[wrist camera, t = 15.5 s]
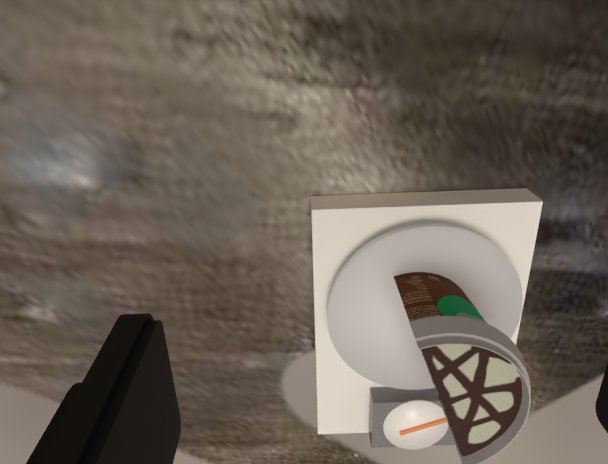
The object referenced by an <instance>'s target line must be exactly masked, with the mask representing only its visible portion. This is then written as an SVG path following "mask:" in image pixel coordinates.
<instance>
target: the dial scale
mask: <svg viewBox="0 0 608 464" xmlns="http://www.w3.org/2000/svg"><path fill="white" fill-rule="evenodd" d="M542 204H543V201H542V200H540V199H539V198H538V197H537V196H536V195H534V194H533V193H532V192H531V191H529V190H528V189H527V188H518V189H490V190H462V191H435V192H407V193H379V194H352V195H324V196H311V226H312V261H313V296H314V331H315V364H316V399H317V424H318V434H338V433H366V432H369V435H370V442H371V447H372V448H375V447H400V448H404V449H421V448H425V447H428V446H431V445H455V442H454V439H453V436H452V434H451V431H450V428H449V425H448V422H447V420H446V417H445V414H444V411H443V409H442V406H441V403H440V400H439V398H438V395H437V392H436V389H435V386H434V384H433V381H432V378H431V375H430V373H429V370H428V367H427V365H426V362H425V360H424V357H423V355H422V351H421V349H420V350H419V348H418V345H417V342H416V340H415V337H414V334H413V331H412V329H411V326H410V323H409V319H408V317H407V314H406V311H405V308H404V305H403V302H402V299H401V297H400V294H399V291H398V288H397V285H396V282H395V279H394V277H393V276H397V275H400V274H404V273H411V272H428V273H434V274H438V275H441V276H444V277H446V278H448V279H450V280H451V281H453V282H454V283H456V284H457V285H458V286H459V287H460V288H461V289H462V290H463V292H464V293H465V294H466V296H467V297H468V298H469V300H470V301H471V302H472V304H473V305H474V306H475V308H476V309H477V310H478V312H479V313H480V314H481V316H482V317H483V318H484V320H485V321H486V322H487V324H489V325H491V326H493V327H495V328H497V329H498V330H500V331H501V332H503V333H504V334H506V335H507V336H508V337H509V338H510V339H511V340H512V341H513V342H514V343H515V345H516V342H517V336H518V331H519V326H520V320H521V315H522V310H523V305H524V299H525V294H526V289H527V283H528V278H529V273H530V267H531V262H532V257H533V252H534V246H535V241H536V236H537V230H538V225H539V220H540V214H541V209H542Z"/></svg>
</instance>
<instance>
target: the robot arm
mask: <svg viewBox="0 0 608 464" xmlns="http://www.w3.org/2000/svg"><path fill="white" fill-rule="evenodd" d="M596 413H597V417H598V419H599V421H600V423H601V424H602V426H603V427H604V429H605V430H606V431H607V433H608V364H607V367H606V370H605V374H604V377H603V381H602V384H601V387H600V391H599V394H598V398H597V401H596ZM180 431H181V420H180V414H179V408H178V403H177V398H176V392H175V387H174V382H173V377H172V371H171V366H170V361H169V355H168V350H167V345H166V340H165V334H164V329H163V325H162V322H161V321H160V320H157V321H154V320H153V317H152V315H151V314H123V315H120V316H119V318H118V319H117V321H116V323H115V325H114V326H113V328H112V330H111V332H110V334H109V335H108V337H107V339H106V341H105V343H104V344H103V346H102V348H101V350H100V352H99V353H98V355H97V357H96V359H95V361H94V362H93V364H92V366H91V368H90V369H89V371H88V373H87V375H86V377H85V378H84V380H83V382H82V383H76V384H75V385H73V386H72V387H71V388H70V390H69V391H68V392H67V394H66V396H65V397H64V399H63V401H62V403H61V404H60V406H59V408H58V410H57V411H56V413H55V415H54V416H53V418H52V420H51V422H50V423H49V425H48V427H47V429H46V431H45V432H44V434H43V435H42V437H41V439H40V440H39V442H38V444H37V446H36V447H35V449H34V451H33V453H32V454H31V456H30V458H29V459H28V461H27V463H26V464H173V460H174V456H175V453H176V449H177V445H178V441H179V437H180Z"/></svg>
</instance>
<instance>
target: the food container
mask: <svg viewBox="0 0 608 464" xmlns="http://www.w3.org/2000/svg"><path fill="white" fill-rule="evenodd" d="M393 277H394V279H395V282H396V285H397V288H398V291H399V294H400V297H401V299H402V302H403V305H404V308H405V311H406V314H407V317H408V319H409V323H410V326H411V329H412V331H413V334H414V337H415V340H416V342H417V345H418V348H419V350H420V349H421V351H422V355H423V357H424V360H425V362H426V365H427V367H428V370H429V373H430V375H431V378H432V381H433V384H434V386H435V389H436V392H437V395H438V398H439V400H440V403H441V406H442V409H443V411H444V414H445V417H446V420H447V422H448V425H449V428H450V431H451V434H452V436H453V439H454V442H455V445H456V447H457V450H458V453H459V456H460V458H461V461H462V464H481V463H483V462H485V461H487V460H489V459H490V458H492V457H493V456H495V455H497V454H498V453H500V452H501V451H502V450H503V449H505V448H506V447H507V446H508V445H509V444H510V443H511V442H512V441H513V440H514V439H515V438H516V437H517V435H518V434H519V432H520V431H521V430H522V428H523V426H524V424H525V422H526V420H527V418H528V414H529V410H530V401H531V397H530V396H531V387H530V380H529V376H528V373H527V369H526V366H525V362H524V360H523V357H522V355H521V352H520V351H519V349H518V348H517V346H516V345H515V343H514V342H513V341H512V340H511V339H510V338H509V337H508V336H507V335H506V334H504V333H503V332H501V331H500V330H498V329H497V328H495V327H493V326H491V325H489V324H487V322H486V321H485V320H484V318H483V317H482V316H481V314H480V313H479V312H478V310H477V309H476V308H475V306H474V305H473V304H472V302H471V301H470V300H469V298H468V297H467V296H466V294H465V293H464V292H463V290H462V289H461V288H460V287H459V286H458V285H457V284H456V283H454V282H453V281H451V280H450V279H448V278H446V277H444V276H441V275H438V274H434V273H428V272H411V273H404V274H400V275H397V276H393Z"/></svg>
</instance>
